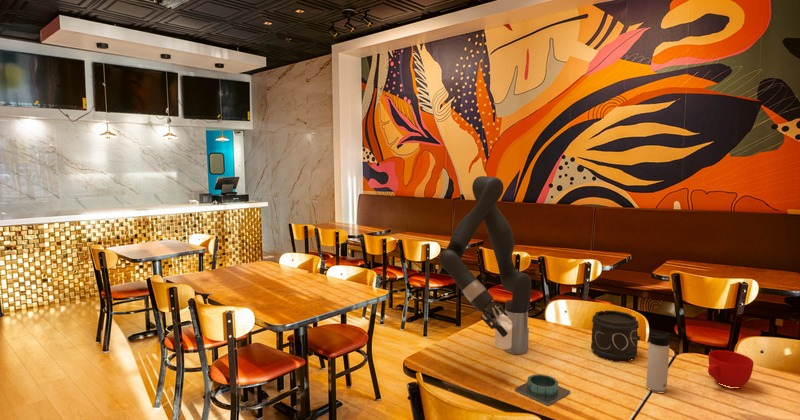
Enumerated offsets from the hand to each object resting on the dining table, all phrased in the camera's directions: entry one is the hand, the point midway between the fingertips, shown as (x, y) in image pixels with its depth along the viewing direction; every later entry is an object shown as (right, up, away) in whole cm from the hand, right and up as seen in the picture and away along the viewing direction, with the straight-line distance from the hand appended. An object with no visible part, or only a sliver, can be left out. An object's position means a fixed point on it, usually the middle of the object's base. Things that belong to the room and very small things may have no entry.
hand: (508, 332), depth 171 cm
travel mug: (+50, -19, -5) cm, 54 cm away
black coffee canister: (+49, -15, +25) cm, 57 cm away
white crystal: (-2, -6, +2) cm, 6 cm away
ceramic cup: (+75, -18, -2) cm, 77 cm away
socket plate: (+10, -19, -6) cm, 22 cm away
